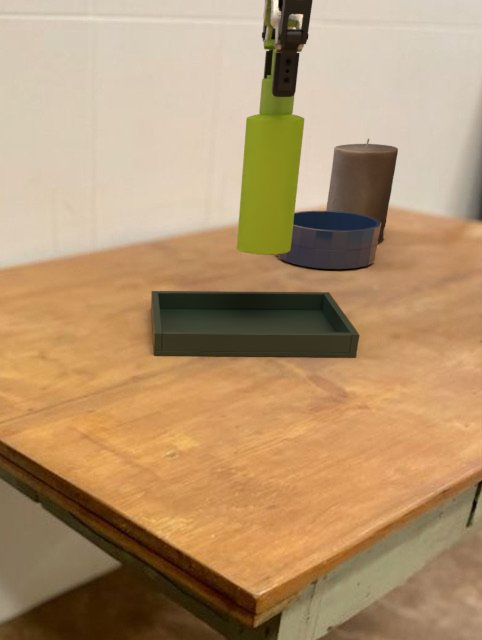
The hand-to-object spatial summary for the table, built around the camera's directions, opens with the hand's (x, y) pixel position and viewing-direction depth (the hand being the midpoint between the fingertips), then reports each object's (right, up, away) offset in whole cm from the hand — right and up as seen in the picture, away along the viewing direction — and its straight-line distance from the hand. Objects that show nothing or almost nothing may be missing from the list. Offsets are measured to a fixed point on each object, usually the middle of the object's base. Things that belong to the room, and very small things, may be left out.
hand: (278, 93), depth 82 cm
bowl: (+16, -3, +41) cm, 44 cm away
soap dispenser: (0, -13, +8) cm, 16 cm away
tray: (-1, -21, +12) cm, 25 cm away
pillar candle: (+23, +3, +52) cm, 57 cm away
